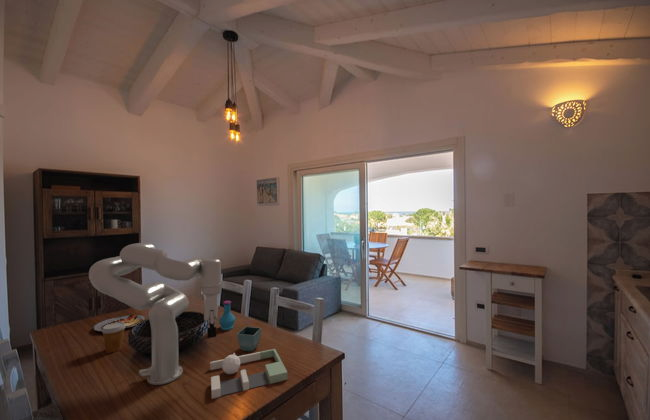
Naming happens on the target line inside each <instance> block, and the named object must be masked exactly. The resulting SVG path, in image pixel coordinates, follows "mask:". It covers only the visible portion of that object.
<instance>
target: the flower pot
mask: <svg viewBox="0 0 650 420" xmlns="http://www.w3.org/2000/svg"><path fill="white" fill-rule="evenodd" d="M261 335H262V328H261V327H256V326H244V327H243V328H242V329H241V330H240V331H239V332H237V341H238V345H239V347H240V349H241V351H243V352H244V351H245V352H254V350H255V349H256V348H257V347H258V345H259V342H260V340H261Z"/></svg>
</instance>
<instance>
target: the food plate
mask: <svg viewBox="0 0 650 420" xmlns="http://www.w3.org/2000/svg"><path fill="white" fill-rule="evenodd" d="M117 320H119V322H124V323H125V325H126V327H125V329H126V328H132V327H135V326H138V325H139V324H138V323H140V322H142V323H144V322H145V321H146V316H145V315H140V314H131V315H122V316H117V317H112V318H109V319H108V318H107V319H105V320H103V321H100V322H98V323H96V324H95V325H94V326H93V330H94V331H97V332H102V327H103V326H104V325H106V324H108V323H111V322H113V321H117ZM137 324H138V325H137ZM140 324H141V323H140Z"/></svg>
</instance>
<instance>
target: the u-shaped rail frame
mask: <svg viewBox="0 0 650 420" xmlns="http://www.w3.org/2000/svg"><path fill="white" fill-rule="evenodd" d="M237 356H238V355H237ZM238 357H239V359H240V365H241V364H246V363H251V362H255V361H259V360H265V359H268V358H274V360H275V362H272V363H267V364H265V365H264V367H265V368H264V371H261V372H257V373H252V374H248V373H247V370H246V369H245V368H244V369H241V370H240V372H239V374H240V377H235V378H231V379H226V380H223V381H221V380H220V379H221V378H220V374H219V375H214V376H211V377H210V390H211V394H210V395H211V400H212V399H217V398H221V397H224V396H228V395H229V396H230V395H233V394H236V393H240V392H244V391H247V390H252V389H256V388H260V387H264V386H267V385H268V386H269V385H271V384H275V383H280V382H283V381H286V380H287V381H288V370H287V369H286V367H285V365H284V363H283V360H282V359H281V357H280V355H279V353H278V352H277V350H276V348H272V349H267V350H262V351H257V352H253V353H252V352H251V353H248V354H242V355H239V356H238ZM224 359H225V358H224ZM224 359H219V360H218V359H217V360H213V361H210V362H209V363H210V366H209V367H210V371H214V370H218V369H223V368H222V363H223V361H224Z"/></svg>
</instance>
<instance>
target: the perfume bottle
mask: <svg viewBox="0 0 650 420" xmlns="http://www.w3.org/2000/svg"><path fill="white" fill-rule="evenodd" d="M222 304H223V313H222V315H221V316H220V318H219V319H218V324H219V326H220V329H221V330H225V331H228V330H231V329H233V328H234V325H235V322H236V318H237V317H235V315H234V314H233V313H232V312H231V304H232V301H231V300H225V301H223V302H222Z"/></svg>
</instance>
